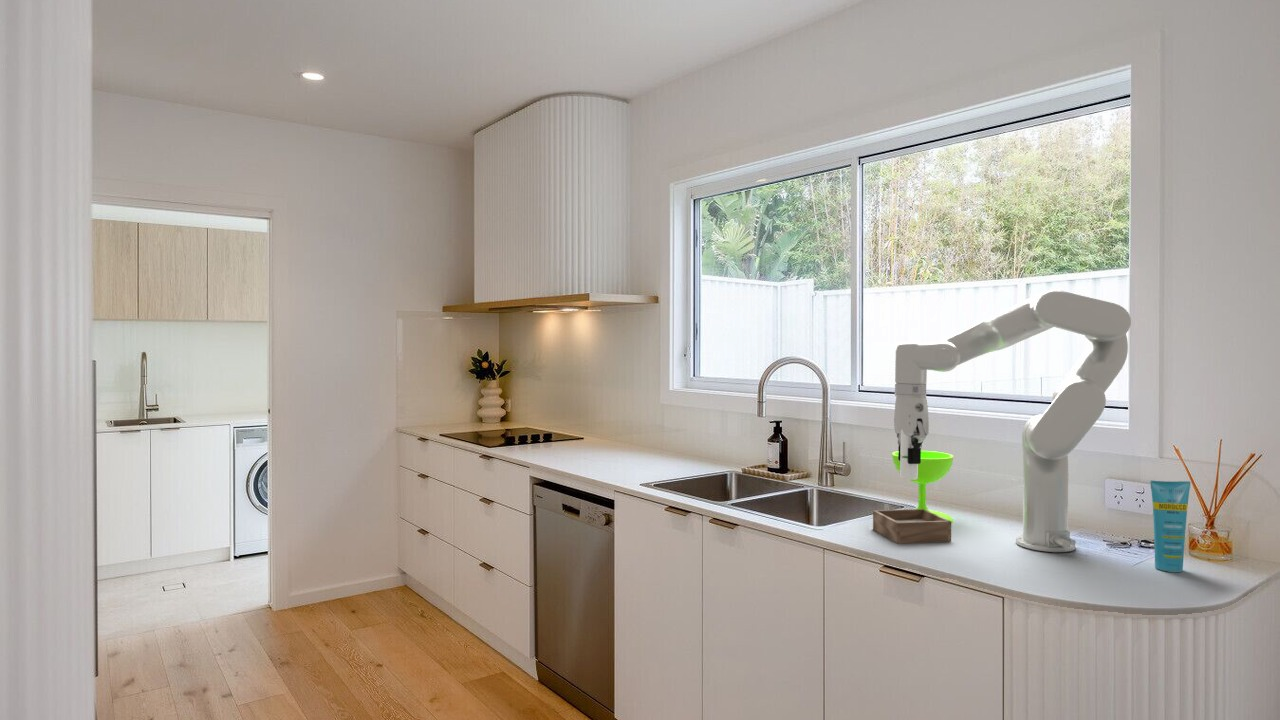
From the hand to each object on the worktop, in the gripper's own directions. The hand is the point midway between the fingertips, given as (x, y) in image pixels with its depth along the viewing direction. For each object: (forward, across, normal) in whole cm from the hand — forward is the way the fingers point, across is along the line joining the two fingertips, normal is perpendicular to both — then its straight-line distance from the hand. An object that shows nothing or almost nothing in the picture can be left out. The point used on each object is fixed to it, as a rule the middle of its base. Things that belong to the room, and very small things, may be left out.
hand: (909, 461), depth 190 cm
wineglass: (+19, +16, -12) cm, 28 cm away
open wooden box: (+19, 0, -1) cm, 19 cm away
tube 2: (+18, -35, -42) cm, 58 cm away
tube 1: (+5, 0, 0) cm, 5 cm away
